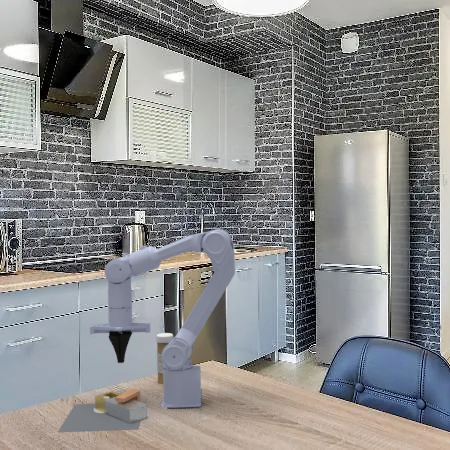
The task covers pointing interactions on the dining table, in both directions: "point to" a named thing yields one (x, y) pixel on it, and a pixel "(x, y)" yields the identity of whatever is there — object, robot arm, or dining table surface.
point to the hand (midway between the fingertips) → (121, 361)
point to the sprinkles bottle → (162, 341)
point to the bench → (94, 420)
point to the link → (121, 407)
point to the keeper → (129, 396)
